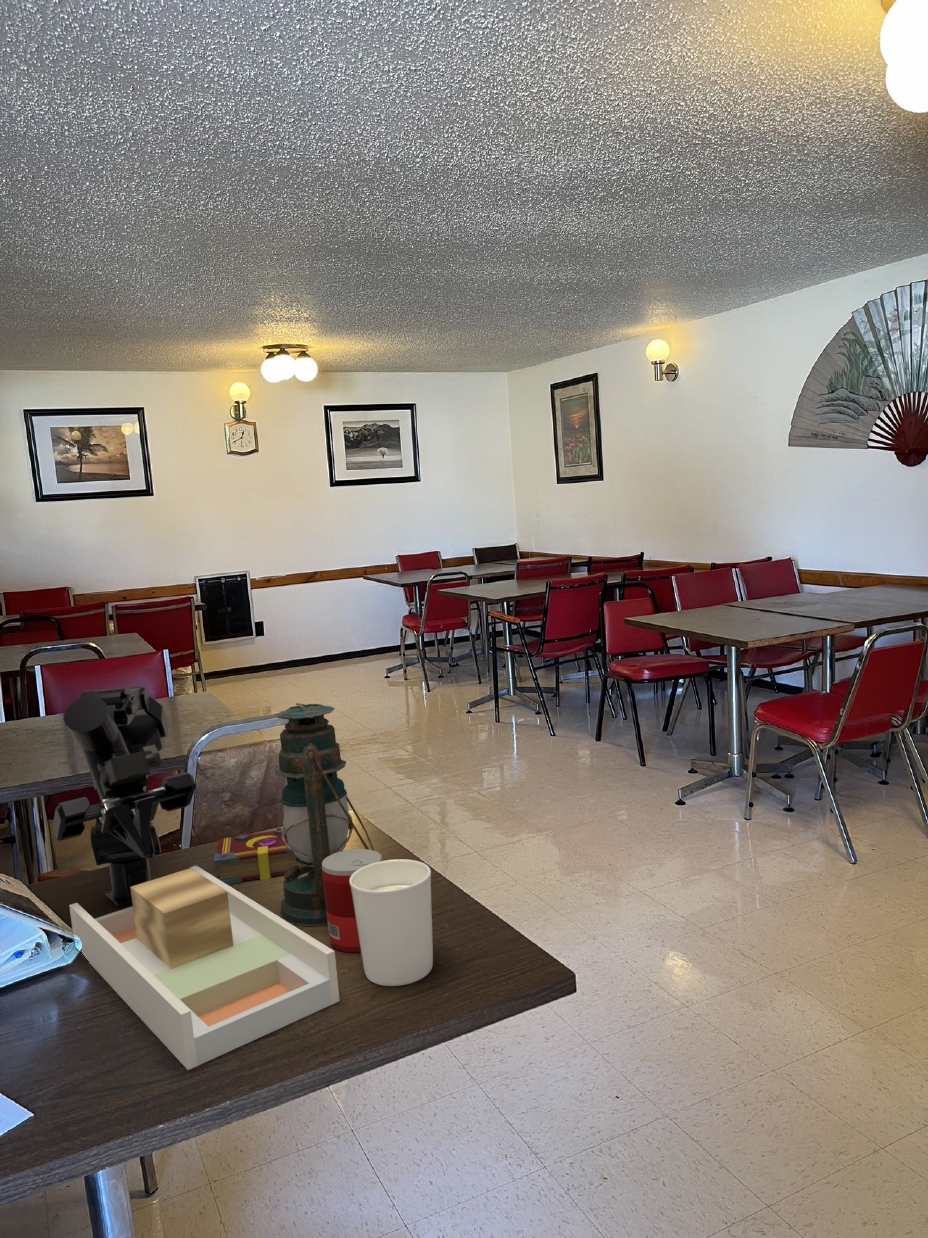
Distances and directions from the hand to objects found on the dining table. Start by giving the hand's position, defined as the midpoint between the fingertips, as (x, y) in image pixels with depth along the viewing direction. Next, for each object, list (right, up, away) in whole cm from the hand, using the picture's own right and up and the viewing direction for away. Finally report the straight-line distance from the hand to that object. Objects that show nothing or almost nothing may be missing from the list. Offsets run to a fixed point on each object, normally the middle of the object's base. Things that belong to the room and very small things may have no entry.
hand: (146, 856), depth 122 cm
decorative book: (+11, -9, +25) cm, 29 cm away
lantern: (+24, -9, +7) cm, 27 cm away
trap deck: (+9, -12, -9) cm, 18 cm away
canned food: (+29, -10, -4) cm, 31 cm away
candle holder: (+35, -11, -13) cm, 39 cm away
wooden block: (+7, -9, -7) cm, 14 cm away
